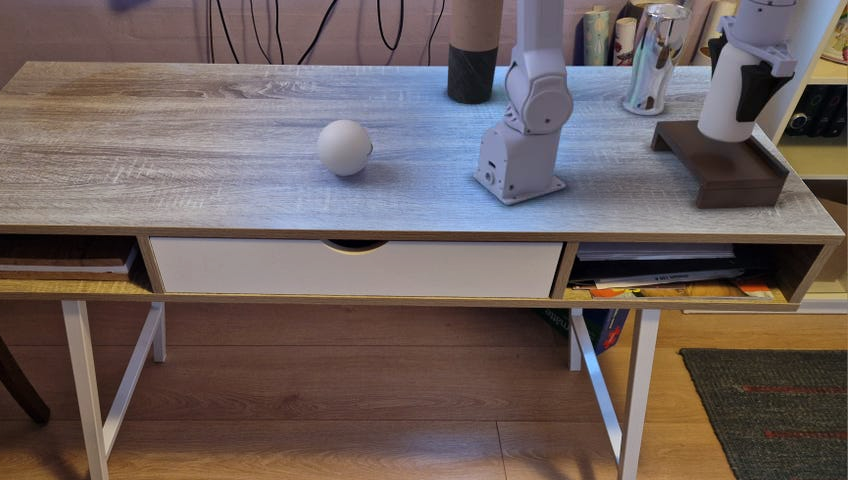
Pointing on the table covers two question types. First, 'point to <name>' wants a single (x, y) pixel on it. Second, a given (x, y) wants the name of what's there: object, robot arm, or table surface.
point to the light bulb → (344, 147)
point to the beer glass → (656, 56)
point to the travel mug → (473, 49)
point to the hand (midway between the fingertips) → (731, 108)
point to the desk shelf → (723, 166)
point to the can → (726, 98)
